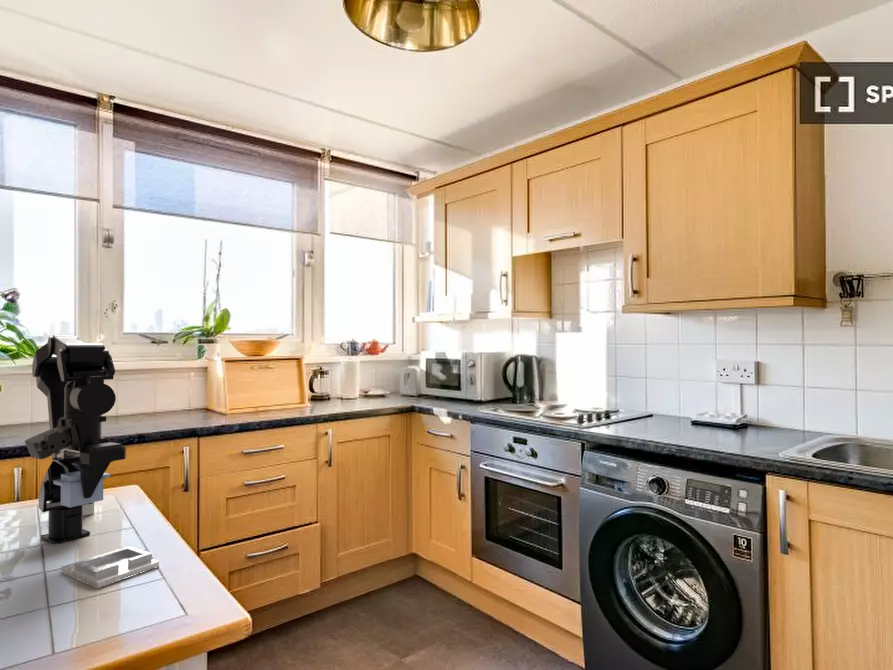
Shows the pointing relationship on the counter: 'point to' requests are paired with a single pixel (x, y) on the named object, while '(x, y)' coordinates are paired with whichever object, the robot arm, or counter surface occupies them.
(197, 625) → the counter surface
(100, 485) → the block
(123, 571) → the mount plate
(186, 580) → the counter surface
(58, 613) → the counter surface
